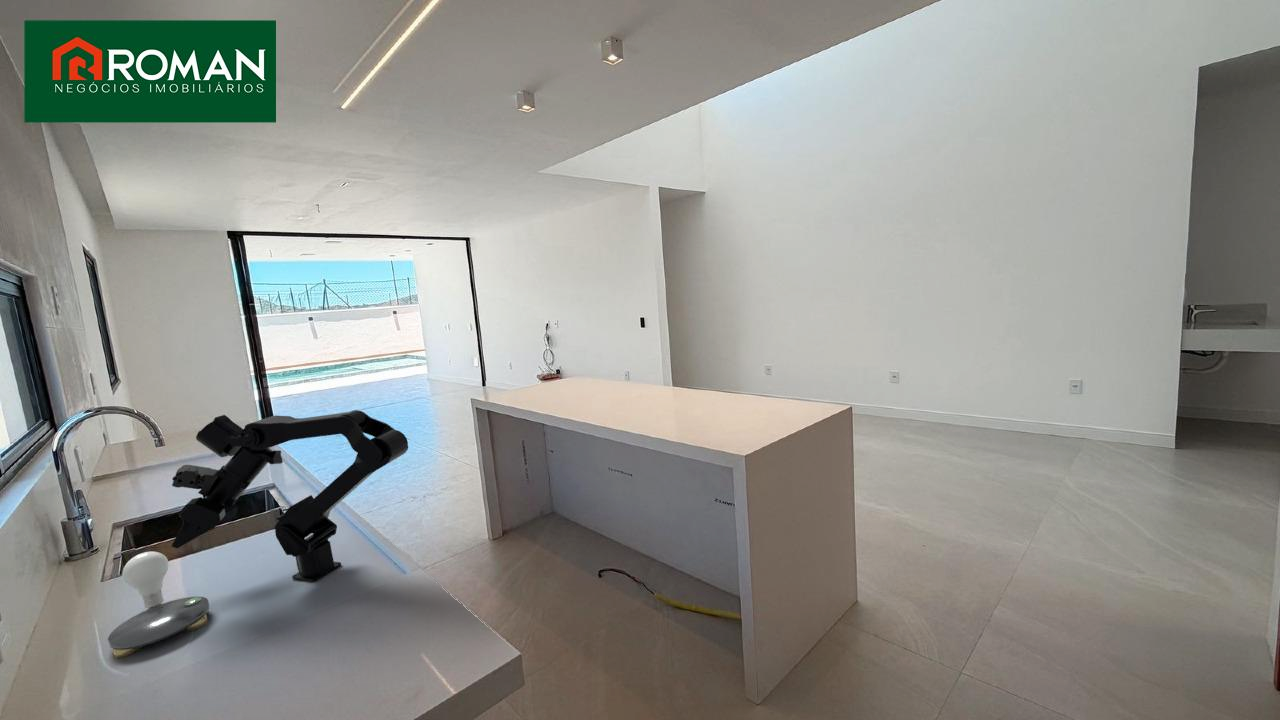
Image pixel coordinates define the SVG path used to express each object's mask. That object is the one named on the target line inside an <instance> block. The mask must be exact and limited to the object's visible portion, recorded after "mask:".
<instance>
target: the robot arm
mask: <svg viewBox="0 0 1280 720" xmlns="http://www.w3.org/2000/svg"><path fill="white" fill-rule="evenodd" d="M365 434H366V435H365ZM334 435H342V436H343V437H345V438H346V440H347V442H348V443H349V445H350V447H351V449H352V450H353V451H354V452H356V457H355V460H354V461H353V463H352V464H351V465H349V466H348V467H347V468H346V469H345V470H344V471H343V472H342V473H340V474H339V475H338V477H336V478H335V479H334V480H333V481H332V482H331V483H330V484H328V486H326V487H325V488H324V489H322V491H320V492H319V493H318V494H317V495H316V496H315V497H313V496H312V494H310V495H308V496H306V497H305V498H303V499H302V500H300V501H298V502H296V503H294V504H292V505H291V506H289V507H288V508H287V509H286V511H285V512H284V513H283V514H281V515H279V516H278V517H276V520H277V522H276V523H275V524H274V527H273V529H274V532H275V536H276V537H275V538H276V539H277V541H278V542H279V545H280V546H281V548H282V549H283V551H284V554H285V555H286V556H292V557H295V561H296V567H297V571H298V572H297V573H295V574H293V575H291V577H292V578H291V579H294V580H300V581H308V582H316V581H318V580H319V579H321V578H323V577H324V576H326V575H327V574H330V573H331V572H333V571H334V570H335V569H337V568H340V567H341V566H342V562H339V561H334V557H333V552H332V551H333V550H332V546H331V545H332V544H331V541H330V540H329V539H330V538H332V537H333V536H335V535H336V534H337V529H338V525H337V524H336V523H335V522H333V521H332V520H331V519H330V518H329V516H330V513H331V511H332V510H333V509H334V508H335V507H336V506H337V505H339V504H340V502H342V501H343V500H344V499H345V498H347V496H349V495H350V494H351V493H352V492H353V491H354V490H356V489H357V488H358V487H359V486H360V485H361V484H362V483H364V482H365V481H366V479H368V478H369V477H370V476H371V475H372V474H374V473H375V472H377V471H378V470H379V469H381V468H382V467H385V466H386V465H388V464H390V463H391V462H393V461H395V460H397V459H398V458H399V457H401V456H403V455H405V454H406V453H407V451H408V449H409V442H408V438H407V437H406V435H405V434H404V433H403V432H402V431H400V430H397V429H395V428H393V426H391V425H389V424H388V423H386V422H384V421H380V420H378V419H376V418H374V417H371V416H370V415H368V414H367V413H365V412H364V411H362V410H358V409H356V410H355V409H354V410H351V411H349V412H348V411H347V412H340V413H332V414H331V413H330V414H325V415H317V416H311V417H310V416H309V417H302V418H301V417H300V418H299V417H298V418H297V417H293V416H290V415H272V416H269V417H266V418H262V419H259V420H256V421H252V422H250V423H247V424H245V425H244V428H242V427H241V426H239V425H238V424H237V423H235V422H234V421H232V419H230V417H228V416H227V415H225V414H222V415H219V416H216V417H215V416H214V419H213V421H211V422H209V423H207V424H206V425H205V426H204V427H203V428H202V429H201V430H198V432H197V434H196V437H195V440H196V441H197V442H198V443H200V444H201V445H203V446H204V447H206V448H207V449H209V450H210V451H211V452H213V453H215V454H216V455H217V456H218V457H220V458H225V457H228V456H229V457H231V458H230V459H229V460H228V462H227V463H226V464H224V465H222V466H221V467H220V468H219V469H215V468H212V467H205V466H201V465H200V466H199V465H192V464H183V465H182V466H180V467H179V468H178V469H177V470H176V473H175V475H174V476H173V477H172V484H171V486H172V487H174V488H178V489H179V488H184V489H185V488H186V489H192V490H193V489H194V490H199V491H198V492H197V494H200V495H202V497H201V496H200V497H196V498H191V500H189V501H188V503H186V504H185V505H184V506H183V507H182V509H181V510H180V511H179V512H178V513H177V514H178V515H179V518H180V519H181V520H182V522H183V523H182V525H181V527H180V529H179V531H178V533H177V535H176V537H175V538H174V539H173V540H174V541H173V542H172V544H171V547H173V548H174V549H179V548H180V547H182V546H184V545H187V544H188V543H189V542H191V541H193V540H194V539H195V540H196V539H197V538H198V537H200V536H202V535H203V534H205V533H208V532H209V531H212V530H214V529H215V528H216V527H217V525H219V524H220V522H221V521H222V520H223V518H224V517H225V516H226V515H227V514H226V510H228V509H230V508H231V507H232V506H233V505H234V504H235V503H236V502H237V501H238V500H239V499H240V498H241V497H242V495H244V493H245V490H246V489H247V488H248V487H249V486H250V485H251V483H252V482H253V481H254V480H255V479H256V478H257V476H258V475H259V474H260V473H261V472H262V471H263V469H264V468H265V467H266V466H267V465H268V464H270V465H281V464H282V463H284V461H283V457H282V451H281V450H272V448H273V447H276V446H278V445H281V444H284V443H286V442H290V441H294V440H296V441H297V440H302V439H310V438H317V437H318V438H319V437H328V436H334ZM367 435H369V436H372V437H373V438H369V437H367Z"/></svg>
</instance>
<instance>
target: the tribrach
mask: <svg viewBox="0 0 1280 720" xmlns="http://www.w3.org/2000/svg"><path fill="white" fill-rule="evenodd" d="M209 609H210V602H209V599H208V598H207V597H204V596H189V597H188V596H187V597H182V598H177V599H175V600H170V601H168V602H163V603H161V604H160V605H158V606H156V607H153V608H147V609H146V610H144V611H142V612H140V613H138V614H136V615H134V616H132V617H130V618H128V619H127V620H125V621H123V622H122V623H121V624H119V625H118V626H116V628H114V629H113V630H112V632H110V633H109V635H108V639H107V640H108V644H109V647H110V648H111V649H112V651H113V655H114V658H115V659H121V658H122V659H123V658H126V657H128V656H131V655H132V654H134V653H137V651H139V650H141V648H142V647H145V646H148V645H151V644H152V645H153V644H155V643H158V642H160V641H162V640H165V639H167V638H170V637H172V636H174V635H176V634H179V633H181V632H183V631H184V632H187V633H188V632H193V631H196V630H198V629H200V628H202V627H204V626H206V624H208V623H209V622H208V617H207V613H208V611H209Z"/></svg>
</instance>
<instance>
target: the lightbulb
mask: <svg viewBox="0 0 1280 720" xmlns="http://www.w3.org/2000/svg"><path fill="white" fill-rule="evenodd" d="M169 567H170V566H169V560H168V558H167V556H165V554H163V553H161V552H158V551H144V552H141V553H139V554H137V555H134V556H133V557H132V558H131V559H129V560H128V561H127V562H126V563H125V565H124V567H123V569H122V574H121V575H122V579H123V581H124V582H125V583H126V584H127V585H128V586H130V587H131V588H134V589H135V590H137V593H138V594H139V595H140V596H141V597H142V600H143V605H144V608H145V609H151V608H153V607H156V606H158V605H161V604H163V603H164V600H165V599H164V597H163V592H162V588H163V583H164V582H163V581H164V578H165V576H166V574H167V572H168V570H169Z"/></svg>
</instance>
